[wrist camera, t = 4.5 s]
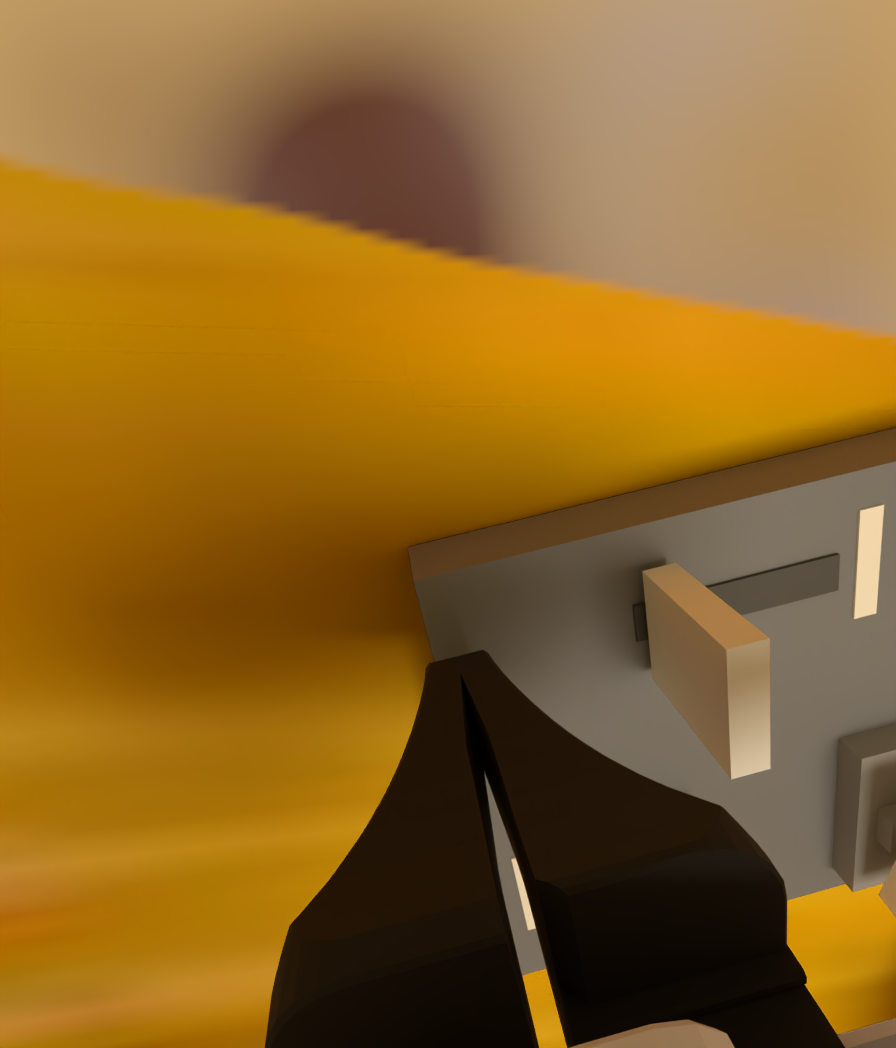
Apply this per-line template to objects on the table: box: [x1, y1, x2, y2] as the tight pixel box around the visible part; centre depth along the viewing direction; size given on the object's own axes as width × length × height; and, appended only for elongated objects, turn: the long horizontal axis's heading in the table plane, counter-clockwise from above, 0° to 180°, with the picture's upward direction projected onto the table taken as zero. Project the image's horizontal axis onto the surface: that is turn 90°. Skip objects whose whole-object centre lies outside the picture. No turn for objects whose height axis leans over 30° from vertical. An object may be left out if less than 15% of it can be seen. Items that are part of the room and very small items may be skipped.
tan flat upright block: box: [642, 563, 770, 779], centre depth 12 cm, size 3×1×3 cm, turn 12°
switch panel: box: [408, 428, 896, 975], centre depth 16 cm, size 14×16×4 cm
